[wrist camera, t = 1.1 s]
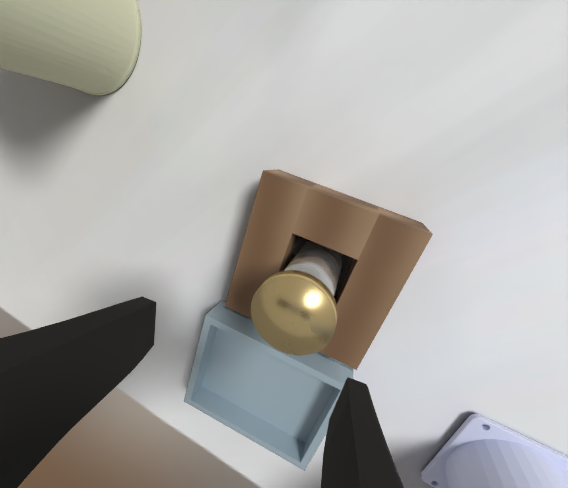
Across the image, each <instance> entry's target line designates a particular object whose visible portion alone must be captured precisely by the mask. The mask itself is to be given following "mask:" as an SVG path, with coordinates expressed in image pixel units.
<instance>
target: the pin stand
mask: <svg viewBox="0 0 568 488" xmlns="http://www.w3.org/2000/svg"><path fill="white" fill-rule="evenodd" d="M432 235H433V234H432V233H431V232H430V231H429V230H428V229H427V228H426V227H425V225H424V224H423V223H421V222H418V221H416V220H413V219H410V218H408V217H405V216H402V215H399V214H397V213H394V212H391V211H389V210H386V209H383V208H381V207H378V206H375V205H372V204H370V203H367V202H364V201H362V200H359V199H356V198H354V197H351V196H348V195H345V194H343V193H340V192H337V191H335V190H332V189H329V188H327V187H324V186H321V185H319V184H316V183H313V182H310V181H308V180H305V179H302V178H300V177H297V176H294V175H292V174H289V173H286V172H283V171H281V170H265V171H263V172H262V176H261V180H260V183H259V187H258V190H257V194H256V197H255V201H254V204H253V208H252V211H251V215H250V219H249V222H248V226H247V229H246V233H245V236H244V240H243V243H242V247H241V251H240V254H239V258H238V261H237V265H236V268H235V272H234V275H233V279H232V282H231V286H230V290H229V293H228V297H227V300H226V304H225V306H226V307H228V308H231V309H233V310H235V311H237V312H239V313H241V314H243V315H245V316H247V317H249V318H251V319H252V317H251V303H252V299H253V296H254V294H255V293H256V291H257V290H258V288H259V287H260V286H261V285H262V284H263V283H264V282H265V281H266V280H267V279H268V278H269V277H270V276H272V275H273V274H275V273H278V272H281V271H284V270H285V268H286V267H287V266H288V264H289V261H290V258H291V256H292V253H293V250H294V247H295V245H296V242H297V239H298V236H301V237H303V238H306V239H308V240H310V241H313V242H315V243H318V244H320V245H323V246H325V247H327V248H330V249H332V250H335V251H337V252H340V253H342V254H344V255H347V256H349V257H352V258H354V259H353V261H352V263H351V265H350V267H349V270H348V272H347V274H346V276H345V278H344V280H343V283H342V285H341V287H340V289H339V291H338V293H337V295H334V298H335V301H336V304H337V310H338V317H337V322H336V327H335V332H334V335H333V337H332V339H331V341H330V342H329V343H328V344H327V346H325V347H324V348H323V349H321V350H320V351H319V352H321V353H323V354H325V355H327V356H329V357H331V358H333V359H335V360H337V361H339V362H341V363H343V364H345V365H348V366H350V367H352V368H354V369H356V370H357V368H358V366H359V364H360V363H361V361H362V359H363V357H364V355H365V354H366V352H367V350H368V348H369V347H370V345H371V343H372V341H373V340H374V338H375V336H376V334H377V332H378V331H379V329H380V327H381V325H382V324H383V322H384V320H385V318H386V316H387V315H388V313H389V311H390V309H391V308H392V306H393V304H394V302H395V300H396V299H397V297H398V295H399V293H400V292H401V290H402V288H403V286H404V284H405V283H406V281H407V279H408V277H409V276H410V274H411V272H412V270H413V268H414V267H415V265H416V263H417V261H418V260H419V258H420V256H421V254H422V252H423V251H424V249H425V247H426V245H427V244H428V242H429V240H430V238H431V237H432Z"/></svg>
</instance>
